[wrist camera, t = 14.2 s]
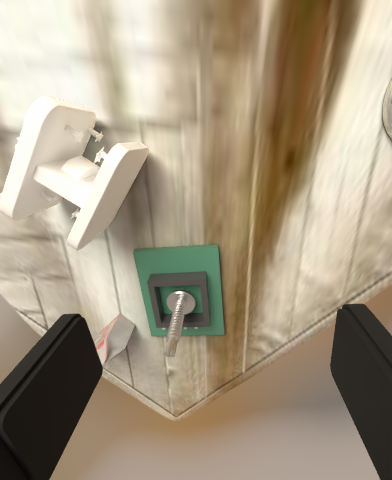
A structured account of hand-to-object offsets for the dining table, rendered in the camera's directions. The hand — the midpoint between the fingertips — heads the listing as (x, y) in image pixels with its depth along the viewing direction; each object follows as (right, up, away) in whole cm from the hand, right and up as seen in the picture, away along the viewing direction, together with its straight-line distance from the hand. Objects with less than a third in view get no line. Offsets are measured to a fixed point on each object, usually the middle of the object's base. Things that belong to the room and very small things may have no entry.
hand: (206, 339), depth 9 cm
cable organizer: (-15, +14, +28) cm, 35 cm away
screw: (-3, -6, +34) cm, 34 cm away
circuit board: (-3, -6, +35) cm, 35 cm away
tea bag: (-16, -14, +39) cm, 45 cm away
